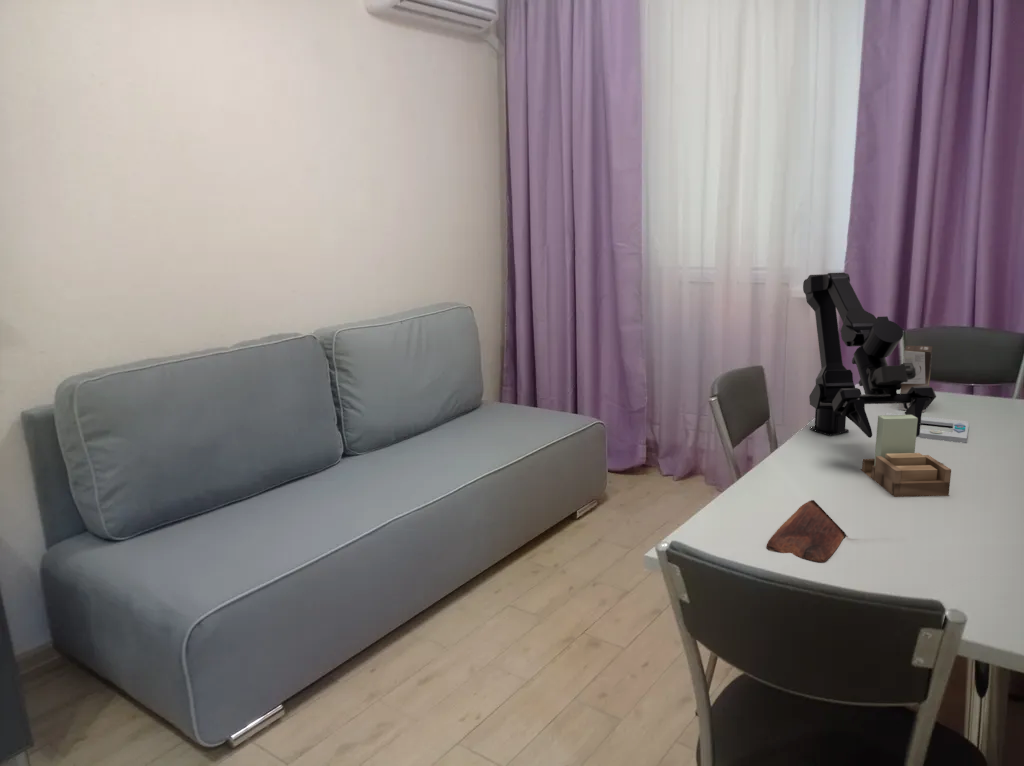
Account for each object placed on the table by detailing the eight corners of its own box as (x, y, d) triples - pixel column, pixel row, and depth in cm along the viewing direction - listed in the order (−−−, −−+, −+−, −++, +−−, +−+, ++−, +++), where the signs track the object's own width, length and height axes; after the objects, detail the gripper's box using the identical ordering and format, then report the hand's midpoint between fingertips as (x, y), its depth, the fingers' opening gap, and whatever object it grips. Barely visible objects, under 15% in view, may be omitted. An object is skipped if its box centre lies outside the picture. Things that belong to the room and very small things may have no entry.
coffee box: (925, 412, 194) (931, 351, 190) (898, 410, 197) (903, 350, 194) (928, 404, 202) (933, 345, 198) (901, 401, 205) (906, 344, 201)
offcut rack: (859, 473, 153) (861, 445, 152) (909, 472, 153) (911, 444, 151) (894, 501, 138) (896, 471, 137) (948, 500, 138) (952, 470, 137)
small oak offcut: (893, 488, 142) (895, 466, 141) (928, 487, 142) (930, 465, 141) (899, 493, 140) (901, 470, 139) (935, 492, 140) (937, 469, 139)
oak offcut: (883, 480, 146) (885, 453, 145) (916, 479, 146) (919, 452, 145) (889, 484, 144) (891, 457, 143) (923, 484, 144) (926, 457, 142)
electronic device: (969, 419, 181) (967, 436, 169) (968, 428, 182) (966, 445, 170) (886, 411, 191) (878, 426, 179) (885, 419, 192) (877, 435, 179)
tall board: (873, 472, 151) (878, 415, 148) (906, 471, 150) (911, 414, 148) (879, 477, 148) (883, 419, 145) (912, 476, 148) (917, 418, 145)
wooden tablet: (808, 492, 142) (864, 496, 136) (809, 503, 142) (865, 508, 136) (761, 545, 122) (825, 553, 115) (762, 557, 122) (826, 566, 116)
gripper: (841, 349, 150) (860, 417, 142) (935, 347, 149) (960, 414, 141) (824, 379, 159) (841, 444, 151) (912, 377, 159) (935, 442, 150)
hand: (894, 436), depth 148 cm, fingers open, 9 cm apart
